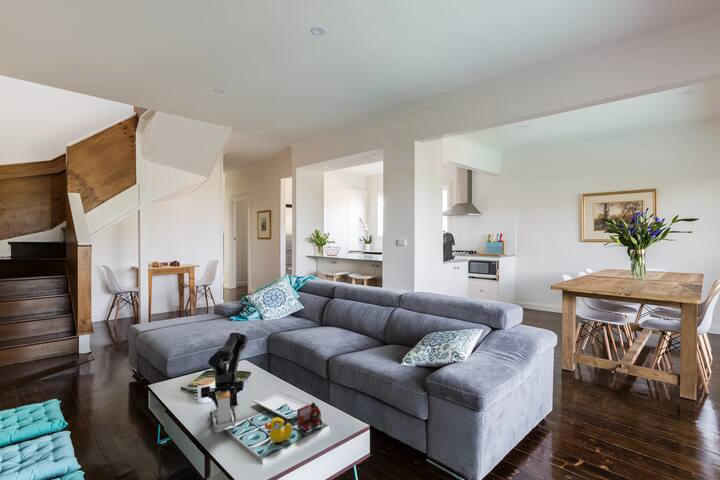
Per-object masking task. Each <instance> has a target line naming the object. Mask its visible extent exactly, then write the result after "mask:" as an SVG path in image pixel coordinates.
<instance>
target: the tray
mask: <svg viewBox="0 0 720 480" xmlns="http://www.w3.org/2000/svg"><path fill="white" fill-rule="evenodd" d="M251 401H252V402H253V403H255V404H256V405H258V406H261V407H262V408H265V409H266V410H268V411H270V412H273V413H275V414H276V415H278V416H280V417H283V418H284V419H285V420H288V419H291V420H293V419H295V417H296V416H298V415H297V414H296V415H294V416H292V417H287V416H286V415H284V414H282V413H280V412H279V411H276V410H274V409H275V408H277V407H279V406H282V405H284V404H287V405H288V407H289V409H293V410H298V409H300V408H302V407H304V406H307V405H311V403H312V402H310V401H307V400H305V399H302V398H300V397H298V396H296V395H293V394H291V393H288V392H286V391H284V390H282V389H279V388H277V389H275V390H272V391H269V392H267V393H264V394H263V395H260V396H257V397H255V398H253V399H251ZM296 418H297V417H296Z"/></svg>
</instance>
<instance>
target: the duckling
mask: <svg viewBox="0 0 720 480" xmlns="http://www.w3.org/2000/svg"><path fill="white" fill-rule="evenodd" d="M284 425H285V426H284ZM264 428H265V429H266V430H269V431H270V432H269V438H270V440H271V441H272V442H274V443H277V442H278V443H280V442H284V441H286V440H288V439H289V438H290V437H291V435H292V432H293V430H292V429H293V427H292V424H290V423H289V422H288V423H286V424H285V420H284V419H283V418H281V417H273V418H272V419H271V420H270V421H269V423H266V422H265V423H264Z"/></svg>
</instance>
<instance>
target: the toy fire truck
mask: <svg viewBox="0 0 720 480" xmlns="http://www.w3.org/2000/svg"><path fill="white" fill-rule="evenodd" d="M310 403H311V405H307V406H304V407H302V408H300V409H298V410H297V415H298V417H297V418H298V420H297V422H296V426H297V427H296V428H298V429H299V430H303V429H304V432H305V431H306V432H305V433H307V431H309V430H311V429H312V428H315V427H317V426H319V425H321V424H323V422H322V413H321V410H320V408H319V406H318V405H316V403H315V402H310ZM321 426H322V425H321ZM312 430H313V429H312Z"/></svg>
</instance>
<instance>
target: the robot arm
mask: <svg viewBox="0 0 720 480" xmlns="http://www.w3.org/2000/svg"><path fill="white" fill-rule="evenodd" d="M247 343H248V336H247V335H246V334H243V333H240V332H231V333H229V336H228V338H227V341H226V342H225V343H224V346H222V347H219V348H218V350H216V352H214V353H213V355H211V356H210V358H209V359H208V362H207V363H208V365H209V366H210V368H211V369H212V370H213V371H214V381H215V384H214V385H215V387H211V386H210V385H208V386H207V385H206V386H202V387H200V398H201V399H205V398H208V399H211V401H213V403H214V405H215V408H216V409H217V410H218V402H217V396H216V393H219V392H224V391H229V392H230V407H235V406H238V405H239V404H238V395H237V394H238V393H240V392H242V391H243V390H244V387H245V385H244V384H245V383H244V380H238V378H237V371H238V367H239V363H240V358H241V353H242V351H243V350H244V349H245V348H246V345H247ZM227 363H228V365H227Z"/></svg>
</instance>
